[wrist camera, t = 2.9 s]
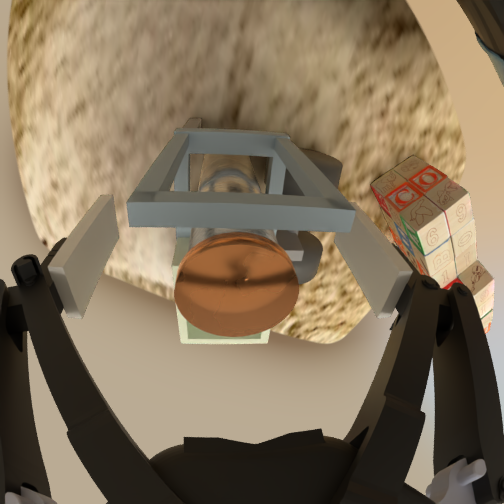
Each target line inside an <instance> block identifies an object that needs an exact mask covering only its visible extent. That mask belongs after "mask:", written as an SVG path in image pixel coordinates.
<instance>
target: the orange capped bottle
mask: <svg viewBox="0 0 504 504" xmlns="http://www.w3.org/2000/svg"><path fill="white" fill-rule="evenodd" d="M197 192H236V193H260V194H262V193H261V190H260V187H259V184H258V181H257V178H256V175H255V172H254V169H253V166H252V163H251V160H250V157H249V155H228V154H205V155H204V160H203V165H202V170H201V175H200V181H199V186H198V191H197ZM298 294H299V283H298V278H297V275H296V272H295V269H294V267H293V264H292V261H291V259H290V257H289V256H288V254H287V253H286V252H285V251H284V249H283V248H281V247H280V246H279V245H278V242H277V239H276V236H275V233H274V230H267V229H232V228H191V234H190V240H189V247H188V252H187V254H186V255H185V256H184V258H183V259H182V261H181V263H180V265H179V268H178V271H177V277H176V283H175V289H174V297H175V302H176V305H177V307H178V309H179V311H180V313H181V314H182V315H183V317H184V318H185V319H186V320H187V321H188V322H189V323H191V324H192V325H193V326H195V327H197V328H198V329H200V330H202V331H205V332H207V333H210V334H213V335H218V336H225V337H243V336H249V335H254V334H257V333H261V332H263V331H266V330H268V329H270V328H272V327H274V326H275V325H277V324H278V323H280V322H281V321H282V320H283V319H285V318H286V317H287V315H288V314H289V313H290V312H291V311H292V309H293V308H294V306H295V304H296V301H297V299H298Z"/></svg>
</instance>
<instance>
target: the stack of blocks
mask: <svg viewBox="0 0 504 504" xmlns="http://www.w3.org/2000/svg"><path fill="white" fill-rule="evenodd" d="M370 186H371V188H372V190H373V192H374V194H375V196H376V198H377V200H378V202H379V204H380V206H381V210H382V212H383V214H384V217H385V219H386V221H387V223H388V225H389V228H390V230H391V233H392V235H393V238H394V240H395V242H396V244H397V246H398V248H399V249H401V251H402V252H403V253H404V254H405V256H406V257H407V258H408V259H409V261H410V262H411V263H412V264H413V265H414V267H415V268H416V269H417V271H418V272H419V273H420V274H421V275H427V276H430V277H432V278H433V279H435V280H436V281H437V282H438V284H439V285H440V288H443V289H447V290H449V289H450V288H451V286H452V284H453V283H455V282H458V283H461V284H464V285H465V286H467V287H468V288H469V289H470V290H471V292H472V294H473V297H474V300H475V303H476V306H477V308H478V312H479V315H480V318H481V321H482V324H483V328H484V331H485V334H486V333H487V332H488V331H489V330H490V325H491V321H492V316H493V309H492V308H493V305H494V278H493V277H492V276H491V275H490V273H489V272H488V271H487V270H486V269H485V268H484V266H483V265H482V264H481V263H480V262H479V261H478V257H477V245H476V231H475V222H474V218H473V212H472V206H471V201H470V195H469V192H468V191H466V190H465V189H464V188H463V187H461V186H460V185H458V184H457V183H455V182H454V181H452V180H451V179H449V178H448V176H447V175H445V174H444V173H442V172H441V171H439V170H438V169H436V168H434V167H433V166H431V165H429V164H427V163H426V162H424V161H422V160H421V159H419V158H417V157H415V156H414V155H413V156H411V157H410V158H408V159H406V160H405V161H404V162H402V163H401V164H399V165H398V166H396V167H395V168H394V169H392V170H390V171H388V172H387V173H385V174H384V175H383V176H381V177H380V178H378V179H377V180H375V181H374V182H373V183H372V184H370Z"/></svg>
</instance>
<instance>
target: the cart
mask: <svg viewBox="0 0 504 504" xmlns="http://www.w3.org/2000/svg"><path fill="white" fill-rule="evenodd" d="M201 123H202V119H200V118H190V119H189V120H188V121H187V123H186V124H185V125H184V127H183V128H177V129H176V130H175V131H174V136H173V137H172V139H171V140H170V141H169V143H168V144H167V145H166V147H165V148H164V149H163V151H162V152H161V153H160V155H159V156H158V157H157V159H156V160H155V161H154V163H153V164H152V166H151V167H150V168H149V170H148V171H147V173H146V174H145V176H144V177H143V178H142V180H141V181H140V183H139V184H138V186H137V187H136V189H135V190H134V192H133V193H132V195H131V196H130V198H129V199H128V201H127V211H128V219H129V227H176V239H178V237H188V238H190V234H191V228H232V229H267V230H274V233H275V236H276V239H277V242H278V245H279V246H280V247H281V248H283V249H284V251H285V252H286V253H287V254H288V256H289V257H290V259H291V261H292V264H293V267H294V269H295V272H296V275H297V278H298V283H299V284H303V283H306V282H308V281H310V280H312V279H313V278H314V277H315V275H316V273H317V270H318V266H319V263H320V259H321V255H322V251H323V246H322V244H321V242H320V241H319V240H318V239H317V238H316V237H315V236H314V235H312V234H310V233H309V232H306V231H321V232H343V233H350V231H351V228H352V224H353V221H354V217H355V213H356V210H355V209H354V207H353V206H352V205H351V204H350V203H349V202H348V200H347V199H346V198H345V197H344V196H343V195H342V194H341V193H340V191H339V190H338V185H339V180H340V176H341V171H342V166H343V165H342V163H341V162H340V161H339V160H337V159H336V158H334V157H331V156H329V155H326V154H323V153H320V152H316V151H312V150H307V149H301V148H298V147H297V146H296V145H295V144H294V143H293V142H292V141H291V140H290V136H289V135H287V134H286V133H278V132H267V131H254V130H237V129H211V128H201ZM190 154H228V155H249V156H265V157H267V161H266V170H265V179H264V182H265V184H266V192H265V194H260V193H236V192H197V191H190ZM173 180H174V191H169V190H170V188H171V185H172V183H173Z"/></svg>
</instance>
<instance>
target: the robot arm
mask: <svg viewBox="0 0 504 504" xmlns="http://www.w3.org/2000/svg"><path fill="white" fill-rule="evenodd" d="M457 2H458V3H459V4H460V6H461V8H462V9H463V11H464V13H465V14H466V16H467V18H468V19H469V21H470V23H471V24H472V26H473V28H474V30H475V34H476V37H477V41H478V43H479V44H480V46H481V47H482V49H483V50H484V51H485V52H486V53H487V54H488V56H489V58H490V60H491V62H492V63H493V65H494V67H495V70H496V72H497V73H498V76H499V78H500V80H501V82H502V84H503V86H504V0H457ZM349 203H350V204H351V205H352V206H353V207H354V209H355V210H356V213H355V217H354V221H353V224H352V228H351V231H350V233H343V232H336V235H335V239H334V243H335V244H336V246H337V248H338V249H339V251H340V253H341V254H342V256H343V258H344V259H345V261H346V263H347V264H348V266H349V268H350V270H351V271H352V273H353V275H354V277H355V278H356V280H357V282H358V284H359V286H360V287H361V289H362V291H363V293H364V295H365V296H366V298H367V300H368V302H369V304H370V306H371V308H372V309H373V311H374V313H375V315H376V317H377V318H386V317H390V316H391V315H392V313H393V311H394V309H395V308H396V309H397V311H398V313H399V314H398V316H397V317H396V319H395V321H394V323H393V324H392V326H391V328H390V330H392V331H391V334H390V338H389V340H388V343H387V346H386V349H385V351H384V354H383V357H382V359H381V362H380V365H379V367H378V370H377V372H376V375H375V377H374V380H373V382H372V384H371V387H370V389H369V392H368V394H367V396H366V398H365V400H364V403H363V405H362V407H361V409H360V411H359V414H358V415H357V418H356V420H355V422H354V424H353V426H352V428H351V429H350V431H349V433H348V434H347V435H346V437H345V438H344V440H340V439H337V438H334V437H328V436H323V433H322V429H315V430H308V431H302V432H294V433H289V434H286V435H283V436H280V437H277V438H274V439H271V440H268V441H265V442H262V443H259V444H250V443H244V442H238V441H233V440H228V439H223V438H204V437H203V438H202V437H184V444H182V445H177V446H174V447H171V448H168V449H166V450H164V451H162V452H160V453H158V454H156V455H155V456H154V457H153V458H151V459H150V460H149V459H148V458H147V457H146V455H145V454H144V453H143V452H142V450H141V449H140V448H139V447H138V445H137V444H136V443H135V442H134V440H133V439H132V438H131V436H130V435H129V434H128V432H127V431H126V430H125V428H124V427H123V425H122V424H121V423H120V421H119V420H118V418H117V417H116V415H115V414H114V412H113V411H112V409H111V408H110V406H109V405H108V403H107V401H106V400H105V398H104V397H103V395H102V394H101V392H100V390H99V388H98V387H97V385H96V383H95V382H94V380H93V378H92V377H91V375H90V373H89V371H88V369H87V368H86V366H85V364H84V362H83V360H82V358H81V357H80V355H79V353H78V351H77V349H76V347H75V345H74V343H73V340H72V339H71V337H70V334H69V332H68V330H67V328H66V326H65V323H64V321H63V319H62V317H61V313H62V310H63V308H64V310H65V312H66V314H67V316H68V317H69V318H78V319H82V318H83V316H84V313H85V311H86V309H87V306H88V304H89V301H90V299H91V297H92V294H93V292H94V289H95V287H96V285H97V283H98V280H99V278H100V276H101V274H102V272H103V270H104V267H105V265H106V263H107V261H108V259H109V257H110V255H111V253H112V251H113V249H114V247H115V245H116V243H117V241H118V239H119V232H118V226H117V219H116V212H115V205H114V197H113V195H101V196H100V197H99V198H98V199H97V201H96V202H95V203H94V204H93V205H92V207H91V208H90V209H89V210H88V212H87V213H86V214H85V215H84V217H83V218H82V219H81V221H80V222H79V223H78V224H77V226H76V227H75V228H74V230H73V231H72V232H71V234H70V235H69V236H68V238H62V239H61V240H60V241H59V242H57V243H56V244H55V246H54V247H53V248H52V250H51V251H50V252H49V254H48V256H47V257H46V258H45V260H44V261H43V263H42V264H41V265H40V263H39V260H38V258H37V256H36V255H33V254H31V255H25V256H22V257H21V258H19V259H17V260H16V261H15V262H14V263H13V265H12V267H11V271H12V274H13V276H14V278H15V281H16V283H17V285H18V286H13V287H8V288H7V286H6V284H5V282H4V281H3V280H1V279H0V504H57V503H56V502H55V501H54V500H53V499H52V498H51V492H50V486H49V482H48V478H47V474H46V470H45V466H44V463H43V459H42V455H41V451H40V446H39V442H38V437H37V432H36V427H35V421H34V415H33V409H32V401H31V393H30V384H29V372H28V354H27V331H29V333H30V336H31V340H32V343H33V346H34V349H35V352H36V355H37V358H38V360H39V364H40V366H41V369H42V371H43V374H44V377H45V379H46V382H47V384H48V387H49V389H50V392H51V394H52V396H53V398H54V401H55V403H56V405H57V407H58V409H59V411H60V413H61V416H62V418H63V420H64V421H65V424H66V426H67V428H68V431H67V435H68V438H69V441H70V443H71V445H72V446H73V448H74V450H75V451H76V453H77V455H78V457H79V459H80V460H81V462H82V463H83V465H84V467H85V468H86V470H87V471H88V473H89V474H90V476H91V478H92V479H93V481H94V482H95V484H96V485H97V487H98V488H99V489H100V491H101V492H102V494H103V495H104V496H105V498H106V499H107V500H108V502H107V503H106V504H502V503H504V434H503V423H502V414H501V406H500V399H499V393H498V387H497V381H496V376H495V371H494V367H493V362H492V358H491V354H490V349H489V346H488V342H487V338H486V335H485V331H484V328H483V324H482V321H481V318H480V315H479V312H478V308H477V306H476V303H475V300H474V297H473V294H472V292H471V290H470V289H469V288H468V287H467V286H465V285H464V284H461V283H458V282H455V283H453V284H452V286H451V288H450V289H449V290H447V289H443V288H440V285H439V284H438V282H437V281H436V280H435V279H433V278H432V277H430V276H427V275H421V274H420V273H419V272H418V271H417V269H416V268H415V267H414V265H413V264H412V263H411V262H410V261H409V259H408V258H407V257H406V256H405V254H404V253H403V252H402V251H401V249H399V248H398V247H397V246H395V245H394V244H393V243H390V242H389V240H388V239H387V238H386V237H385V236H384V234H383V233H382V232H381V231H380V230H379V229H378V227H377V226H376V225H375V224H374V223H373V222H372V221H371V219H370V218H369V217H368V216H367V215H366V214H365V213H364V212H363V210H362V209H361V208H360V207H359V206H358V205H357V204H356V203H355V202H349ZM432 358H433V371H434V392H435V434H434V456H433V458H434V459H433V464H434V478H433V480H432V483H431V484H430V485H429V486H428V487H427V489H426V495H427V496H425V495H423V494H422V493H420V492H419V491H417V490H416V489H414V488H412V487H411V486H409V485H408V484H406V483H405V482H404V481H405V479H406V476H407V473H408V471H409V468H410V465H411V463H412V460H413V457H414V455H415V451H416V449H417V446H418V442H419V439H420V436H421V433H422V429H423V425H424V422H425V413H424V412H422V411H421V405H422V401H423V397H424V393H425V389H426V385H427V380H428V376H429V371H430V366H431V360H432Z"/></svg>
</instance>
